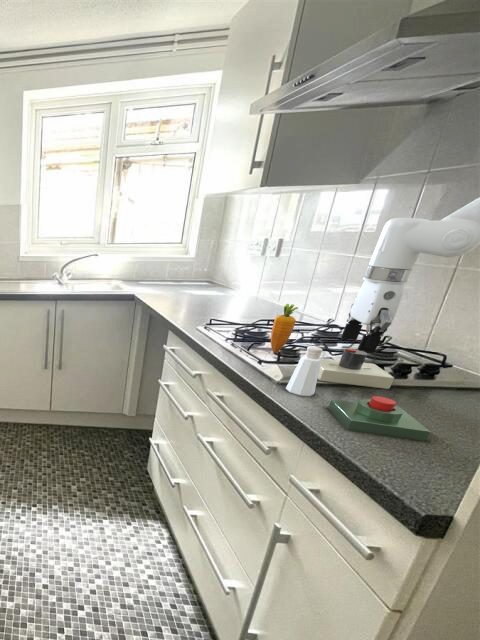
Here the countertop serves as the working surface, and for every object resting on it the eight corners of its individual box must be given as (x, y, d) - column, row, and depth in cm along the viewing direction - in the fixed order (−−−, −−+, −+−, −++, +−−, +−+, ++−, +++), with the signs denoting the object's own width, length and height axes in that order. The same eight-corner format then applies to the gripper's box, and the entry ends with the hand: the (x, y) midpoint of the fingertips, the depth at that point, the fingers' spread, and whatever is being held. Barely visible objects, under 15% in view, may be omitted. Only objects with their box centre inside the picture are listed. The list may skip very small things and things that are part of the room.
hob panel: (369, 374, 109) (374, 363, 107) (389, 389, 100) (394, 377, 99) (305, 367, 113) (309, 356, 112) (319, 380, 105) (323, 369, 103)
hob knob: (356, 364, 107) (363, 348, 105) (364, 370, 103) (371, 354, 101) (335, 362, 108) (341, 346, 106) (342, 368, 104) (349, 352, 103)
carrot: (266, 349, 127) (282, 300, 121) (286, 353, 123) (303, 303, 117) (262, 353, 123) (278, 303, 117) (282, 357, 120) (299, 306, 114)
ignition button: (387, 405, 84) (390, 397, 83) (396, 413, 81) (400, 405, 80) (364, 402, 85) (368, 395, 84) (373, 410, 82) (376, 402, 81)
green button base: (397, 418, 87) (405, 400, 85) (425, 441, 78) (435, 423, 77) (327, 408, 91) (334, 391, 89) (347, 429, 82) (354, 411, 80)
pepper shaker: (299, 386, 101) (314, 343, 97) (319, 395, 96) (337, 351, 92) (279, 387, 100) (294, 344, 96) (299, 397, 96) (316, 352, 91)
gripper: (429, 282, 88) (393, 358, 95) (387, 270, 103) (359, 337, 110) (384, 279, 90) (353, 353, 97) (350, 268, 105) (325, 333, 112)
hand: (356, 344), depth 103 cm, fingers open, 9 cm apart
